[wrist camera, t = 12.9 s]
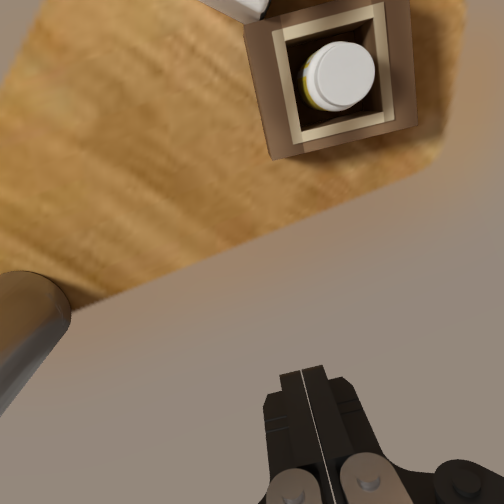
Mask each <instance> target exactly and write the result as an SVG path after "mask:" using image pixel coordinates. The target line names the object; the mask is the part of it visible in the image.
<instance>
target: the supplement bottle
mask: <svg viewBox="0 0 504 504" xmlns="http://www.w3.org/2000/svg"><path fill="white" fill-rule="evenodd" d="M374 77H375V66H374V62H373V59H372V57H371V55H370V54H369V52H368V51H367V50H366V49H365V48H364V47H362V46H360V45H358V44H355V43H349V42H343V41H338V42H332V43H330V44H327V45H325V46H323V47H322V48H321V49H319V50H318V51H316V52H315V53H314V54H312V55H311V56H309V57H308V58H307V59H306V60H305V61H304V62H303V64H302V65H301V67H300V69H299V71H298V74H297V80H296V86H297V92H298V95H299V97H300V98H301V100H302V101H303V102H304V103H305V104H306V105H307V106H308V107H310V108H312V109H315V110H322V111H342V110H345V109H348V108H350V107H352V106H353V105H354V104H356V103H357V102H358V101H360V100H361V99H363V98H364V97H365V96H366V94H367V93H368V92H369V90H370V88H371V86H372V84H373V81H374Z"/></svg>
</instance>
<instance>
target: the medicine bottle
mask: <svg viewBox="0 0 504 504" xmlns="http://www.w3.org/2000/svg"><path fill="white" fill-rule="evenodd" d="M198 1H200V2H202V3H204V4H206V5H208V6H210V7H212V8H214V9H216V10H218V11H220V12H222V13H224V14H225V15H227V16H229V17H231V18H233V19H235V20H237V21H239V22H241V23H243V24H249V23H253V22H256V21H260V20H264V18H265V16H266V13H267V11H268V8H269V6H270V3H271V0H198Z"/></svg>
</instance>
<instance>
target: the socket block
mask: <svg viewBox="0 0 504 504" xmlns="http://www.w3.org/2000/svg"><path fill="white" fill-rule="evenodd" d="M353 30H354V34H355V43H356V44H358V45H360V46H362V47H364V48H365V49H366V50H367V51H368V52H369V54H370V55H371V57H372V59H373V62H374V66H375V77H374V81H373V84H372V86H371V88H370V90H369V92H368V93H367V94H366V96H365V97H364V98H363V99H362V101H363V110H364V111H360V112H356V113H352V114H348V115H344V116H340V117H336V118H332V119H328V120H324V121H320V122H316V123H312V124H308V125H304V126H300V122H299V117H298V111H297V106H296V100H295V95H294V89H293V84H292V78H291V72H290V67H289V61H288V56H287V50H286V48H288V47H292V46H296V45H300V44H303V43H307V42H311V41H315V40H319V39H322V38H326V37H330V36H334V35H338V34H341V33H345V32H349V31H353ZM243 37H244V42H245V46H246V51H247V55H248V60H249V65H250V69H251V74H252V79H253V83H254V88H255V93H256V97H257V102H258V107H259V111H260V116H261V120H262V125H263V130H264V134H265V139H266V144H267V148H268V153H269V155H270V157H271V159H272V161H274V160H278V159H282V158H286V157H290V156H294V155H299V154H303V153H307V152H311V151H315V150H319V149H323V148H327V147H331V146H335V145H339V144H344V143H348V142H352V141H356V140H360V139H364V138H368V137H372V136H376V135H380V134H384V133H389V132H393V131H397V130H401V129H405V128H409V127H413V126H417V125H418V117H417V103H416V88H415V74H414V60H413V46H412V31H411V17H410V3H409V0H335V1H331V2H327V3H323V4H320V5H316V6H312V7H309V8H305V9H301V10H297V11H294V12H290V13H286V14H283V15H279V16H275V17H271V18H268V19H264V20H260V21H256V22H253V23H249V24H245V25H244V31H243Z"/></svg>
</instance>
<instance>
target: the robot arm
mask: <svg viewBox="0 0 504 504" xmlns="http://www.w3.org/2000/svg"><path fill="white" fill-rule="evenodd" d="M70 322H71V308H70V305H69V302H68V300H67V298H66V297H65V295H64V293H63V292H62V291H61V290H60V289H59V288H58V286H56V285H55V284H54V283H53V282H51V281H50V280H48V279H46V278H44V277H43V276H41V275H38V274H35V273H32V272H25V271H12V272H8V273H4V274H2V275H0V417H1V415H2V414H3V413H4V411H5V410H6V409H7V408H8V406H9V405H10V404H11V402H12V401H13V400H14V399H15V397H16V396H17V395H18V393H19V392H20V391H21V389H22V388H23V387H24V386H25V384H26V383H27V382H28V380H29V379H30V378H31V377H32V375H33V374H34V373H35V371H36V370H37V369H38V367H39V366H40V365H41V364H42V362H43V361H44V360H45V358H46V357H47V356H48V355H49V353H50V352H51V351H52V349H53V348H54V347H55V345H56V344H57V342H58V341H59V340H60V339H61V337H62V336H63V335H64V334H65V332H66V331H67V330H68V327H69V325H70ZM302 373H303V377H304V381H305V385H306V390H307V393H308V398H309V402H310V406H311V410H312V413H313V417H314V421H315V425H316V429H317V432H318V436H319V440H320V444H321V447H322V451H323V455H324V459H325V463H326V466H327V470H328V474H329V477H330V481H331V485H332V489H333V492H334V496H335V500H336V504H504V477H502V476H500V475H498V474H496V473H494V472H492V471H490V470H488V469H486V468H484V467H482V466H480V465H478V464H476V463H474V462H471V461H467V460H459V459H457V460H450V461H446V462H444V463H442V464H441V465H440V466H439V467H438V468H437V469H436V471H435V473H424V472H414V471H408V470H405V469H403V468H400V467H398V466H396V465H395V464H393V463H392V462H391V461H389V460H388V459H387V458H386V456H385V455H384V454H383V452H382V450H381V448H380V446H379V443H378V441H377V439H376V437H375V435H374V432H373V430H372V428H371V425H370V423H369V421H368V419H367V417H366V414H365V412H364V410H363V407H362V405H361V403H360V401H359V398H358V396H357V394H356V392H355V389H354V387H353V385H351V384H350V383H349V382H348V381H347V380H345V379H344V378H343V377H339V378H335V379H330V380H328V379H327V376H326V373H325V370H324V368H323V365H319V366H315V367H311V368H307V369H302ZM280 382H281V387H282V391H279V392H276V393H271V394H268V395H267V398H266V400H265V403H264V406H263V413H264V421H265V431H266V441H267V451H268V461H269V471H270V483H269V486H268V489H267V492H266V494H265V496H264V497H263V499H262V500H261V501H260V502H259V503H258V504H334V501H333V496H332V493H331V489H330V484H329V480H328V476H327V472H326V468H325V464H324V461H323V456H322V453H321V448H320V445H319V441H318V437H317V433H316V429H315V426H314V422H313V418H312V414H311V410H310V407H309V403H308V399H307V395H306V392H305V388H304V384H303V380H302V377H301V373H300V370H299V371H294V372H290V373H286V374H282V375H280Z"/></svg>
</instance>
